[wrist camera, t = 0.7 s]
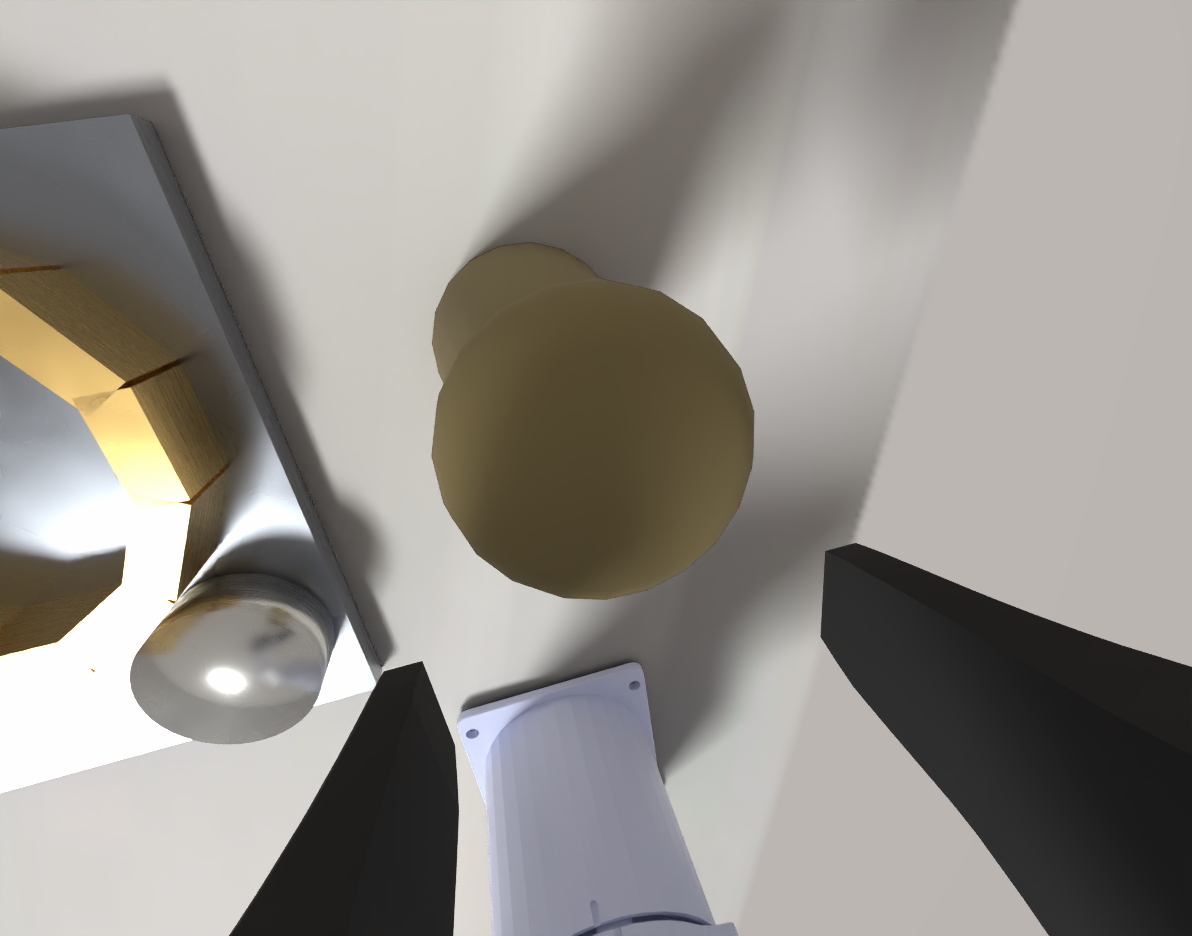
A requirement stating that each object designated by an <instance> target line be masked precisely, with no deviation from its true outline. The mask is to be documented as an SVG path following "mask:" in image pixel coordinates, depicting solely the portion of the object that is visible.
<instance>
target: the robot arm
mask: <svg viewBox="0 0 1192 936" xmlns="http://www.w3.org/2000/svg"><path fill="white" fill-rule="evenodd" d="M821 638H822V640H823V641H824V643H825V644H826V646H827V648H828V649H829V651H830V652H831V654H832V655H833V657H834V659H835V660H836V662H837V663H838V665H839V666H840V668H841V669H842V671H843V672H844V673H845V675H846V676H847V678H848V679H849V681H850V682H851V684H852V685H853V687H854V688H855V689H856V690H857V691H858V693H859V694H860V695H861V696H862V698H863V699H864V700H865V701H866V702H867V704H868V705H869V706H870V707H871V708H872V709H873V711H874V712H875V713H876V714H877V716H878V717H879V718H880V719H881V720H882V721H883V723H884V724H885V725H886V726H887V727H888V729H889V730H890V731H891V732H892V733H893V734H894V735H895V737H896V738H897V739H898V740H899V741H900V743H901V744H902V745H903V746H904V747H905V748H906V750H907V751H908V752H909V753H910V754H911V755H912V757H913V758H914V759H915V760H916V761H917V763H919V765H920V766H921V767H922V768H923V770H924V771H925V772H926V773H927V774H928V775H929V776H930V778H931V779H932V780H933V781H934V782H935V784H936V785H937V786H938V787H939V788H940V789H941V791H942V792H943V793H944V794H945V795H946V796H947V797H948V799H949V800H950V801H951V802H952V803H953V805H954V806H955V807H956V808H957V810H958V811H959V812H960V813H961V815H962V816H963V817H964V818H965V820H966V821H967V822H968V823H969V825H970V826H971V827H972V829H973V830H974V831H975V832H976V834H977V835H978V836H979V838H980V839H981V840H982V842H983V843H984V845H985V846H986V847H987V849H988V850H989V852H990V853H991V854H992V856H993V857H994V858H995V860H996V861H997V863H998V864H999V865H1000V867H1001V868H1002V870H1003V871H1004V872H1005V874H1006V875H1007V876H1008V878H1009V879H1010V881H1011V882H1012V883H1013V885H1014V886H1015V888H1016V889H1017V890H1018V892H1019V893H1020V895H1021V896H1022V897H1023V899H1024V900H1025V901H1026V903H1027V904H1028V906H1029V907H1030V909H1031V910H1032V912H1033V913H1034V915H1035V916H1036V917H1037V919H1038V920H1039V922H1040V923H1041V925H1042V926H1043V927H1044V929H1045V931H1046V932H1047V933H1048V935H1049V936H1192V667H1190V666H1187V665H1184V664H1180V663H1177V662H1174V661H1171V660H1167V659H1164V658H1161V657H1157V656H1155V655H1151V654H1148V653H1145V652H1142V651H1138V650H1135V649H1132V648H1129V647H1125V646H1122V645H1119V644H1116V643H1113V642H1110V641H1107V640H1104V639H1101V638H1098V637H1095V636H1093V635H1090V634H1087V633H1084V632H1081V631H1078V630H1076V629H1073V628H1070V627H1067V626H1064V625H1061V624H1059V623H1056V622H1053V621H1051V620H1048V619H1045V618H1042V617H1040V616H1037V615H1034V614H1032V613H1029V612H1027V611H1024V610H1021V609H1019V608H1016V607H1014V606H1011V605H1008V604H1006V603H1003V602H1001V601H998V600H996V599H993V598H991V597H988V596H986V595H983V594H980V593H978V592H976V591H973V590H971V589H969V588H966V587H963V586H961V585H959V584H956V583H954V582H952V581H949V580H947V579H944V578H942V577H939V576H937V575H935V574H932V573H930V572H928V571H925V570H923V569H920V568H918V567H916V566H913V565H911V564H908V563H906V562H903V561H901V560H898V559H896V558H894V557H891V556H889V555H886V554H884V553H881V552H879V551H876V550H874V549H871V548H868V547H866V546H863V545H860V544H857V543H854V544H850V545H847V546H843V547H839V548H836V549H832V550H828V551H825V566H824V584H823V602H822V620H821ZM633 681H636V682H635V683H633V684H630V683H631V682H633ZM457 729H458V732H459V734H460V737H461V740H462V743H463V745H464V748H465V751H466V754H467V756H468V759H469V762H470V765H471V767H472V770H473V773H474V775H475V778H476V781H477V784H478V786H479V789H480V792H481V795H482V797H483V800H484V803H485V806H486V813H487V835H488V857H489V879H490V901H491V923H492V936H738V934H737V931H736V929H735V926H734V924H733V923H731V922H728V923H724V924H720V925H716V924H715V922H714V919H713V916H712V913H711V911H710V908H709V905H708V903H707V900H706V897H705V895H704V892H703V889H702V887H701V884H700V881H699V878H698V876H697V873H696V870H695V868H694V865H693V862H692V860H691V857H690V854H689V851H688V849H687V846H686V843H685V841H684V838H683V835H682V833H681V830H680V827H679V824H678V822H677V819H676V816H675V814H674V811H673V808H672V806H671V803H670V800H669V797H668V795H667V792H666V789H665V787H664V784H663V781H662V779H661V776H660V773H659V770H658V767H657V760H656V753H655V746H654V739H653V732H652V726H651V719H650V712H649V705H648V698H647V691H646V684H645V677H644V672H643V670H642V668H641V665H639V664H638V663H635V662H632V663H627V664H624V665H620V666H617V667H613V668H610V669H607V670H603V671H600V672H596V673H593V674H589V675H586V676H582V677H579V678H576V679H572V680H569V681H565V682H562V683H558V684H555V685H551V686H548V687H544V688H541V689H538V690H534V691H531V692H527V693H524V694H520V695H517V696H513V697H510V698H507V699H503V700H500V701H496V702H493V703H489V704H486V705H482V706H479V707H475V708H472V709H469V710H466V711H463V712H462V713H460V714H459V716H458V718H457ZM471 729H476V730H474V731H469V730H471ZM458 820H459V804H458V785H457V769H456V754H455V744H454V742H453V739H452V737H451V734H450V731H449V729H448V726H447V724H446V721H445V719H444V716H443V713H442V711H441V708H440V706H439V703H438V700H437V698H436V695H435V693H434V690H433V688H432V685H431V682H430V680H429V677H428V675H427V672H426V669H425V667H424V664H423V662H422V661H421V662H417V663H413V664H410V665H406V666H402V667H399V668H395V669H391V670H388V671H384V672H383V674H382V675H381V677H380V678H379V680H378V682H377V683H376V685H375V687H374V689H373V691H372V693H371V695H370V697H369V699H368V701H367V703H366V705H365V707H364V709H363V711H362V713H361V714H360V716H359V718H358V720H357V722H356V724H355V726H354V728H353V730H352V732H351V733H350V735H349V737H348V739H347V741H346V743H345V745H344V747H343V748H342V750H341V752H340V754H339V756H338V758H337V760H336V761H335V763H334V765H333V767H332V768H331V770H330V772H329V774H328V775H327V777H326V779H325V781H324V783H323V784H322V786H321V788H320V790H319V791H318V793H317V795H316V797H315V799H314V800H313V802H312V804H311V806H310V807H309V809H308V811H307V813H306V814H305V816H304V818H303V819H302V821H301V823H300V824H299V826H298V828H297V829H296V831H295V833H294V834H293V836H292V837H291V839H290V841H289V842H288V844H287V846H286V847H285V849H284V850H283V852H282V854H281V855H280V857H279V859H278V860H277V862H276V863H275V865H274V867H273V868H272V870H271V872H270V873H269V875H268V876H267V878H266V880H265V881H264V883H263V885H262V886H261V888H260V889H259V891H258V892H257V894H256V896H255V897H254V899H253V900H252V902H251V903H250V905H249V906H248V908H247V909H246V911H245V912H244V914H243V915H242V917H241V918H240V920H239V922H238V923H237V925H236V926H235V928H234V929H233V931H232V932H231V934H230V935H229V936H453V928H454V908H455V887H456V867H457V844H458Z"/></svg>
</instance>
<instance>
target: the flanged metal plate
mask: <svg viewBox="0 0 1192 936" xmlns="http://www.w3.org/2000/svg"><path fill="white" fill-rule="evenodd" d="M381 672H382V667H381V665H380V663H379V660H378V658H377V655H376V653H375V651H374V648H373V646H372V644H371V641H370V639H369V636H368V634H367V632H366V629H365V627H364V625H363V622H362V620H361V617H360V615H359V613H358V610H357V608H356V606H355V603H354V601H353V598H352V596H351V594H350V591H349V589H348V587H347V584H346V582H345V579H344V577H343V575H342V572H341V570H340V568H339V565H338V563H337V560H336V558H335V556H334V553H333V551H332V549H331V546H330V544H329V541H328V539H327V537H326V534H325V532H324V530H323V527H322V525H321V522H320V520H319V518H318V515H317V513H316V511H315V508H314V506H313V504H312V501H311V499H310V496H309V494H308V492H307V489H306V487H305V485H304V482H303V480H302V477H301V475H300V473H299V470H298V468H297V466H296V463H295V461H294V458H293V456H292V454H291V451H290V449H289V447H288V444H287V442H286V439H285V437H284V435H283V432H282V430H281V428H280V425H279V423H278V420H277V418H276V416H275V413H274V411H273V409H272V406H271V404H270V401H269V399H268V397H267V394H266V392H265V390H264V387H263V385H262V382H261V380H260V378H259V375H258V373H257V371H256V368H255V366H254V364H253V361H252V359H251V356H250V354H249V352H248V349H247V347H246V345H245V342H244V340H243V337H242V335H241V333H240V330H239V328H238V326H237V323H236V321H235V318H234V316H233V314H232V311H231V309H230V307H229V304H228V302H227V299H226V297H225V295H224V292H223V290H222V288H221V285H220V283H219V280H218V278H217V276H216V273H215V271H214V269H213V266H212V264H211V261H210V259H209V257H208V254H207V252H206V250H205V247H204V245H203V242H202V240H201V238H200V235H199V233H198V231H197V228H196V226H195V224H194V221H193V219H192V216H191V214H190V212H189V209H188V207H187V205H186V202H185V200H184V197H183V195H182V193H181V190H180V188H179V186H178V183H177V181H176V178H175V176H174V174H173V171H172V169H171V167H170V164H169V162H168V159H167V157H166V155H165V152H164V150H163V148H162V145H161V143H160V140H159V138H158V136H157V133H156V131H155V129H154V126H153V124H152V122H150V121H147V120H145V119H142V118H139V117H137V116H134V115H131V114H123V115H115V116H106V117H98V118H89V119H81V120H72V121H64V122H55V123H47V124H38V125H30V126H21V127H13V128H4V129H0V793H2V792H6V791H10V790H13V789H17V788H20V787H24V786H28V785H31V784H35V783H38V782H42V781H46V780H49V779H53V778H56V777H60V776H64V775H67V774H71V773H75V772H78V771H82V770H85V769H89V768H93V767H96V766H100V765H103V764H107V763H111V762H114V761H118V760H121V759H125V758H129V757H132V756H136V755H139V754H143V753H147V752H150V751H154V750H157V749H161V748H165V747H168V746H172V745H175V744H179V743H183V742H186V741H190V740H195V741H200V742H205V743H214V744H242V743H249V742H254V741H259V740H263V739H266V738H269V737H272V736H275V735H277V734H279V733H282V732H284V731H286V730H287V729H289V728H291V727H293V726H294V725H295V724H297V723H298V722H299V721H301V720H302V719H303V718H304V717H305V716H306V715H307V714H308V713H309V712H310V710H311V709H312V708H313V706H316V705H320V704H323V703H327V702H331V701H334V700H338V699H341V698H345V697H349V696H352V695H356V694H359V693H363V692H367V691H370V690H373V689H374V687H375V685H376V683H377V682H378V680H379V678H380V677H381Z"/></svg>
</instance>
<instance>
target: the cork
mask: <svg viewBox="0 0 1192 936" xmlns="http://www.w3.org/2000/svg"><path fill="white" fill-rule="evenodd" d="M432 345H433V350H434V354H435V358H436V363H437V367H438V372H439V375H440V377H441V379H442V381H443V383H444V384H443V386H442V389H441V391H440V393H439V396H438V401H437V408H436V418H435V427H434V437H433V446H432V460H433V464H434V468H435V472H436V476H437V480H438V484H439V488H440V492H441V496H442V500H443V503H444V505H445V507H446V509H447V510H448V512H449V514H450V516H451V517H452V519H453V520H454V522H455V523H456V525H457V526H458V528H459V529H460V530H461V532H462V533H463V535H464V536H465V538H466V539H467V541H468V542H469V544H470V545H471V547H472V548H473V550H474V551H475V553H476V554H477V555H478V556H480V557H481V558H482V559H484V560H485V561H486V562H488V563H489V564H490V565H492V566H493V567H494V568H496V569H497V570H499V571H500V572H501V573H503V574H504V575H505V576H507V577H508V578H509V579H511V580H512V581H514V582H517V583H520V584H523V585H526V586H529V587H532V588H535V589H538V590H541V591H544V592H547V593H550V594H553V595H556V596H559V597H563V598H573V599H601V600H607V599H611V598H616V597H620V596H624V595H628V594H633V593H637V592H641V591H646V590H648V589H650V588H652V587H654V586H656V585H658V584H660V583H662V582H664V581H665V580H667V579H669V578H671V577H673V576H675V575H677V574H679V573H681V572H683V571H684V570H686V569H687V568H688V567H689V566H690V565H691V564H692V563H693V562H695V561H696V560H697V559H698V558H699V557H700V556H701V555H702V554H703V553H705V552H706V551H707V550H708V549H709V548H710V547H711V546H712V545H714V544H715V543H716V541H717V540H718V538H719V537H720V535H721V534H722V532H723V531H724V529H725V528H726V526H727V525H728V523H729V522H730V520H731V519H732V517H733V516H734V514H735V513H736V511H737V510H738V508H739V506H740V503H741V500H742V497H743V493H744V490H745V487H746V484H747V481H748V478H749V475H750V472H751V469H752V463H753V446H754V410H753V406H752V403H751V400H750V397H749V394H748V391H747V387H746V384H745V381H744V378H743V375H742V371H741V368H740V367H739V366H738V364H737V363H736V362H735V360H734V359H733V357H732V356H731V355H730V354H729V352H728V351H727V350H726V348H725V347H724V346H723V344H722V343H721V342H720V340H719V339H718V338H717V336H716V335H715V334H714V333H713V331H712V330H711V329H710V327H709V326H708V325H707V323H706V322H705V321H704V319H703V318H701V317H700V316H698V315H697V314H695V313H693V312H692V311H690V310H689V309H687V308H685V307H684V306H682V305H681V304H679V303H678V302H676V301H674V300H673V299H671V298H670V297H668V296H666V295H665V294H663V293H662V292H660V291H655V290H651V289H646V288H642V287H637V286H632V285H628V284H623V283H618V282H614V281H609V280H604V279H599V278H598V277H597V275H596V274H595V273H594V272H593V271H592V270H591V268H590V267H589V266H588V265H586V264H585V263H583V262H582V261H580V260H578V259H577V258H575V257H573V256H572V255H570V254H569V253H567V252H565V251H564V250H562V249H558V248H554V247H549V246H545V245H540V244H536V243H532V242H529V243H521V244H513V245H504V246H498V247H496V248H494V249H492V250H490V251H488V252H486V253H484V254H482V255H480V256H478V257H476V258H474V259H472V260H470V261H469V262H468V263H467V265H466V266H465V267H464V268H463V269H462V270H461V271H460V272H459V273H458V274H457V275H456V276H455V277H454V278H453V279H452V280H451V281H450V282H449V283H448V285H447V287H446V290H445V292H444V294H443V296H442V298H441V301H440V303H439V305H438V307H437V309H436V312H435V319H434V329H433V339H432Z"/></svg>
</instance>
